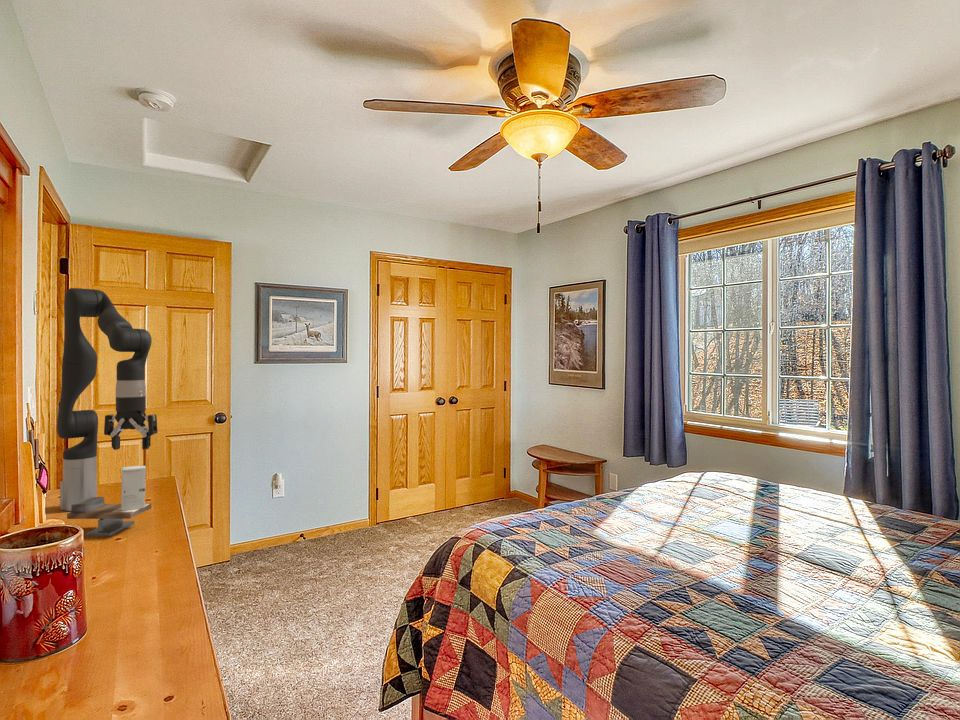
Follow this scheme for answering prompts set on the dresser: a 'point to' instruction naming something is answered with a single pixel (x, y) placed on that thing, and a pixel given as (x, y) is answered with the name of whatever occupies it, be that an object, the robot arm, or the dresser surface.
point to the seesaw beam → (102, 510)
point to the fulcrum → (109, 527)
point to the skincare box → (133, 487)
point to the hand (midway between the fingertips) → (131, 449)
